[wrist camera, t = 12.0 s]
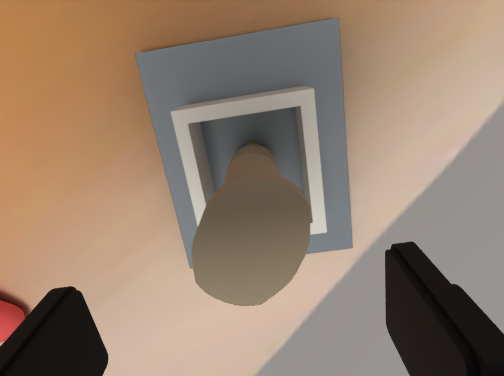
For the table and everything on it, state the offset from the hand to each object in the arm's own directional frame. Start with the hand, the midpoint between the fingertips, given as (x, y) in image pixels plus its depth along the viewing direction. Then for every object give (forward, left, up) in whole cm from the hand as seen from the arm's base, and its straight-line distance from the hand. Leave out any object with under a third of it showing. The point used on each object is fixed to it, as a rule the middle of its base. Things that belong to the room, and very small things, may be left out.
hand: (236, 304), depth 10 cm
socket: (+1, 0, -21) cm, 21 cm away
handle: (0, 0, -20) cm, 20 cm away
